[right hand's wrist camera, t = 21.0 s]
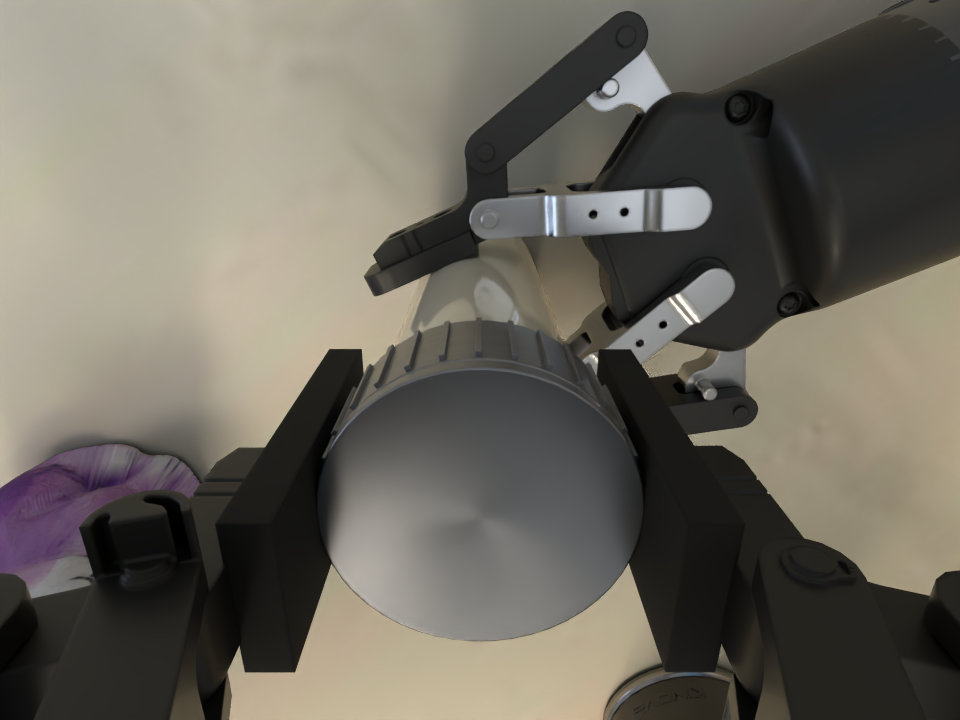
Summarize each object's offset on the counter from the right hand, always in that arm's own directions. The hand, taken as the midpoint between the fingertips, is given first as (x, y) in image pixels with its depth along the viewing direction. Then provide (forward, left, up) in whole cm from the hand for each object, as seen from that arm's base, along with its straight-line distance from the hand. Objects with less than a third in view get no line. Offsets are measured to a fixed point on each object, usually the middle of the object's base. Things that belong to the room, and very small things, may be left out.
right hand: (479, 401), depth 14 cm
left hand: (-1, +2, -6) cm, 7 cm away
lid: (0, 0, +4) cm, 4 cm away
